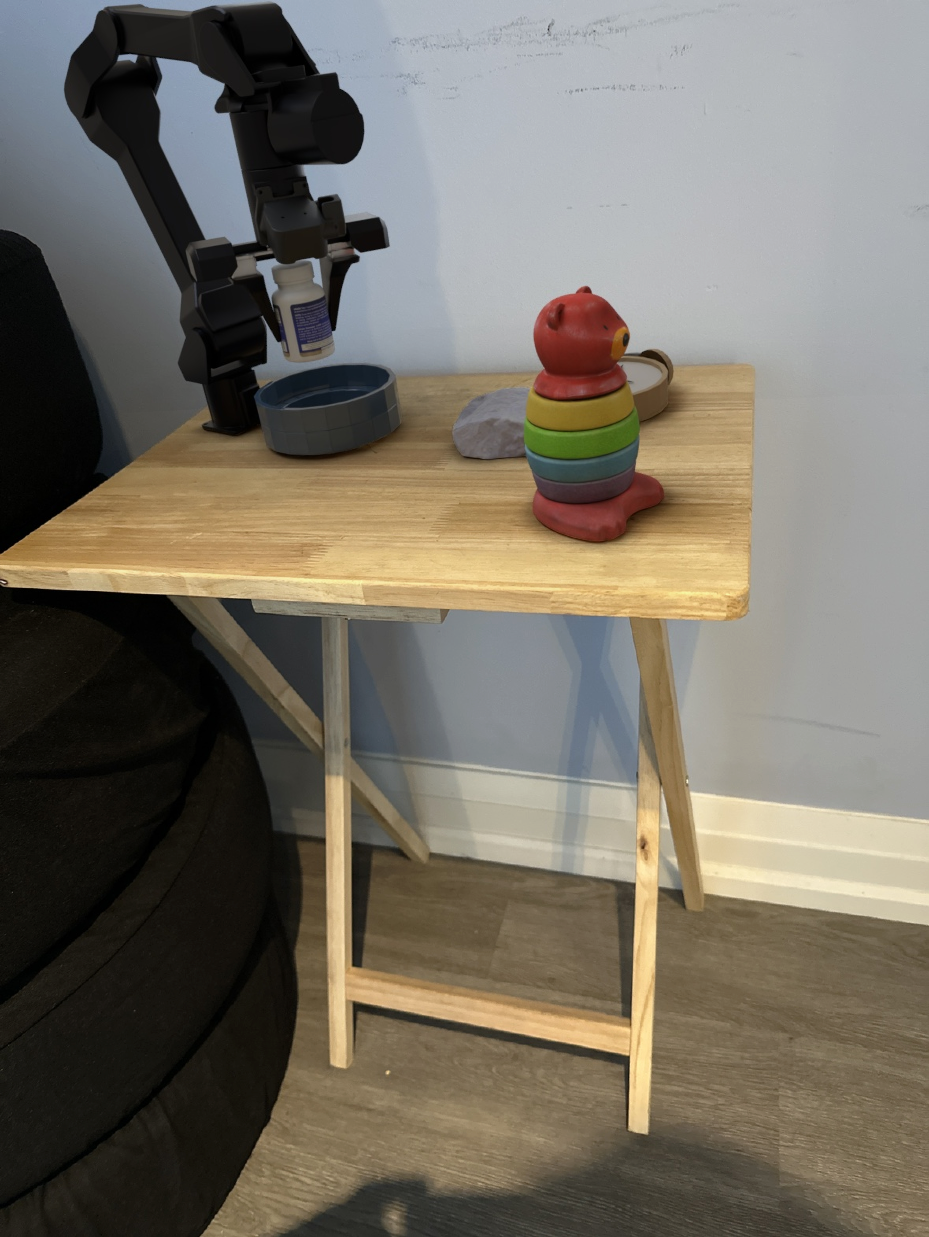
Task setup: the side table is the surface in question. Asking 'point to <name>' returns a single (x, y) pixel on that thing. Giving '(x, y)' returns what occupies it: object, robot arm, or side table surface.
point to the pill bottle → (301, 313)
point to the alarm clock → (648, 380)
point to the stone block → (493, 425)
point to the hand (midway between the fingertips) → (305, 336)
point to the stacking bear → (584, 422)
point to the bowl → (329, 408)
